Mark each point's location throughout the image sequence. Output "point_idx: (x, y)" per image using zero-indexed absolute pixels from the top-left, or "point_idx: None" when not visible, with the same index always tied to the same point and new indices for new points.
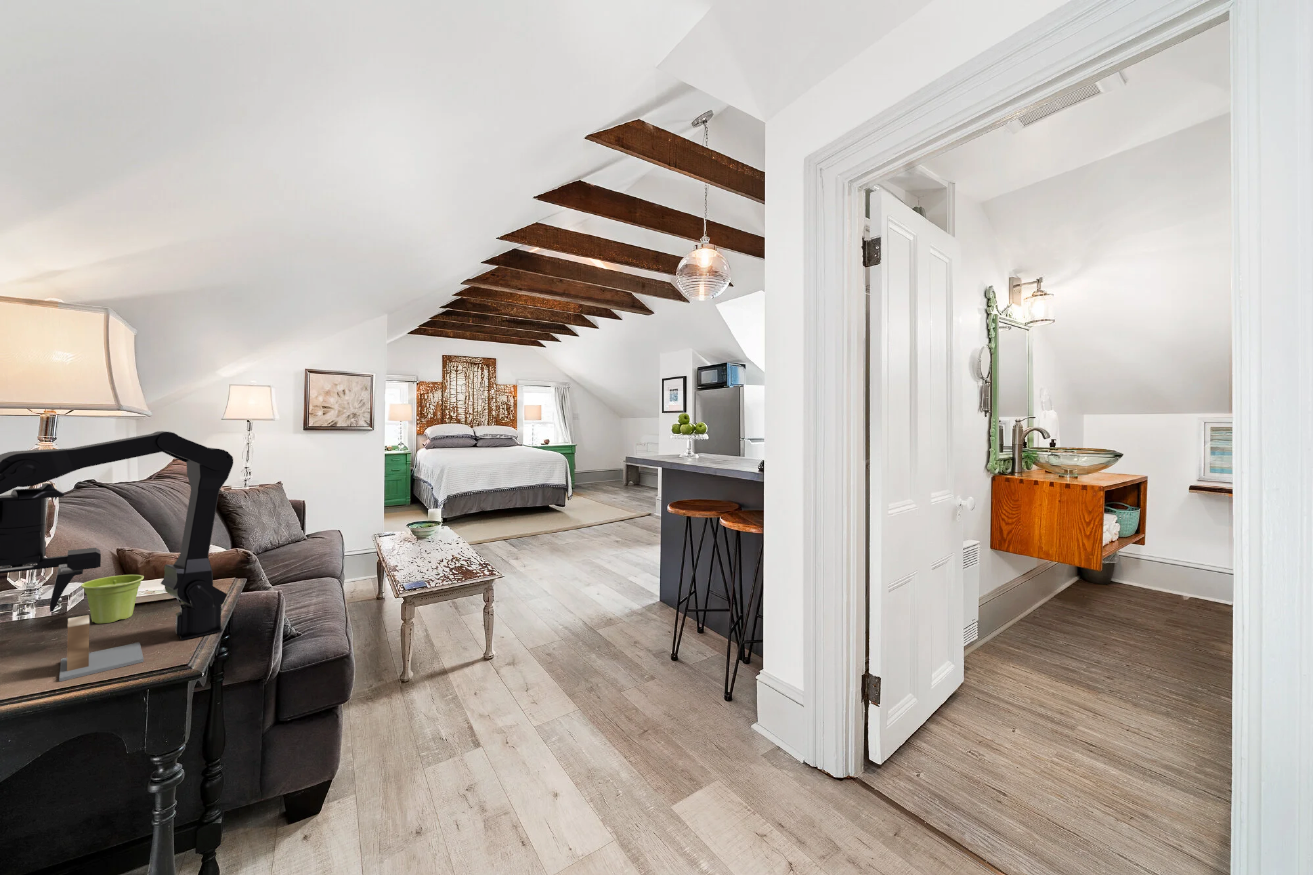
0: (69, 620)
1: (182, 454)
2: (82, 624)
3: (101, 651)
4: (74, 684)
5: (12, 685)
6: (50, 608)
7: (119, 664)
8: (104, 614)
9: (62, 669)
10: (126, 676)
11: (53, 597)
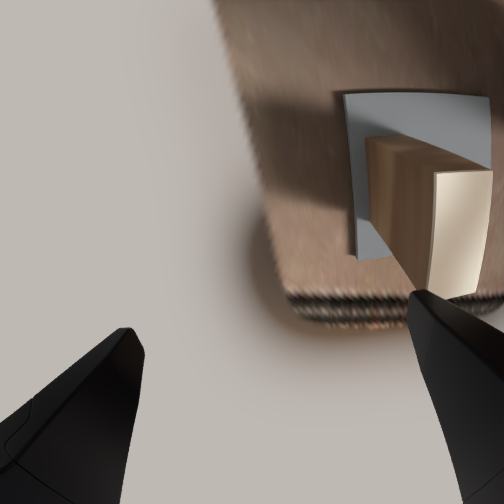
0: (439, 218)
1: None
2: (458, 294)
3: (427, 106)
4: (378, 290)
5: (269, 216)
6: (414, 342)
7: None
8: None
9: (360, 199)
10: None
11: (444, 418)
